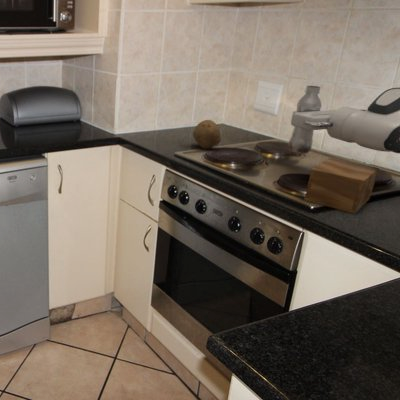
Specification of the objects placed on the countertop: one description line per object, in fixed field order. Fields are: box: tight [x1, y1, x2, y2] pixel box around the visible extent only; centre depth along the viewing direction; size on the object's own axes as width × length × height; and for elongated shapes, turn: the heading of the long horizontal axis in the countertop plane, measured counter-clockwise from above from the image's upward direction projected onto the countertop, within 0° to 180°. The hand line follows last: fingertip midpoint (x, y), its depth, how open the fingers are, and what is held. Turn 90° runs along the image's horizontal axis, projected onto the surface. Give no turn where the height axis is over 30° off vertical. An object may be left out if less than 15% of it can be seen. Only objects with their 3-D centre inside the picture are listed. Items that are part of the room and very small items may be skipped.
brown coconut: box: [192, 119, 222, 150], centre depth 165 cm, size 9×9×10 cm
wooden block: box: [303, 157, 379, 214], centre depth 123 cm, size 14×12×9 cm
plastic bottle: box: [287, 85, 322, 154], centre depth 142 cm, size 6×7×20 cm
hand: (304, 113), depth 142 cm, fingers closed on plastic bottle, 6 cm apart
